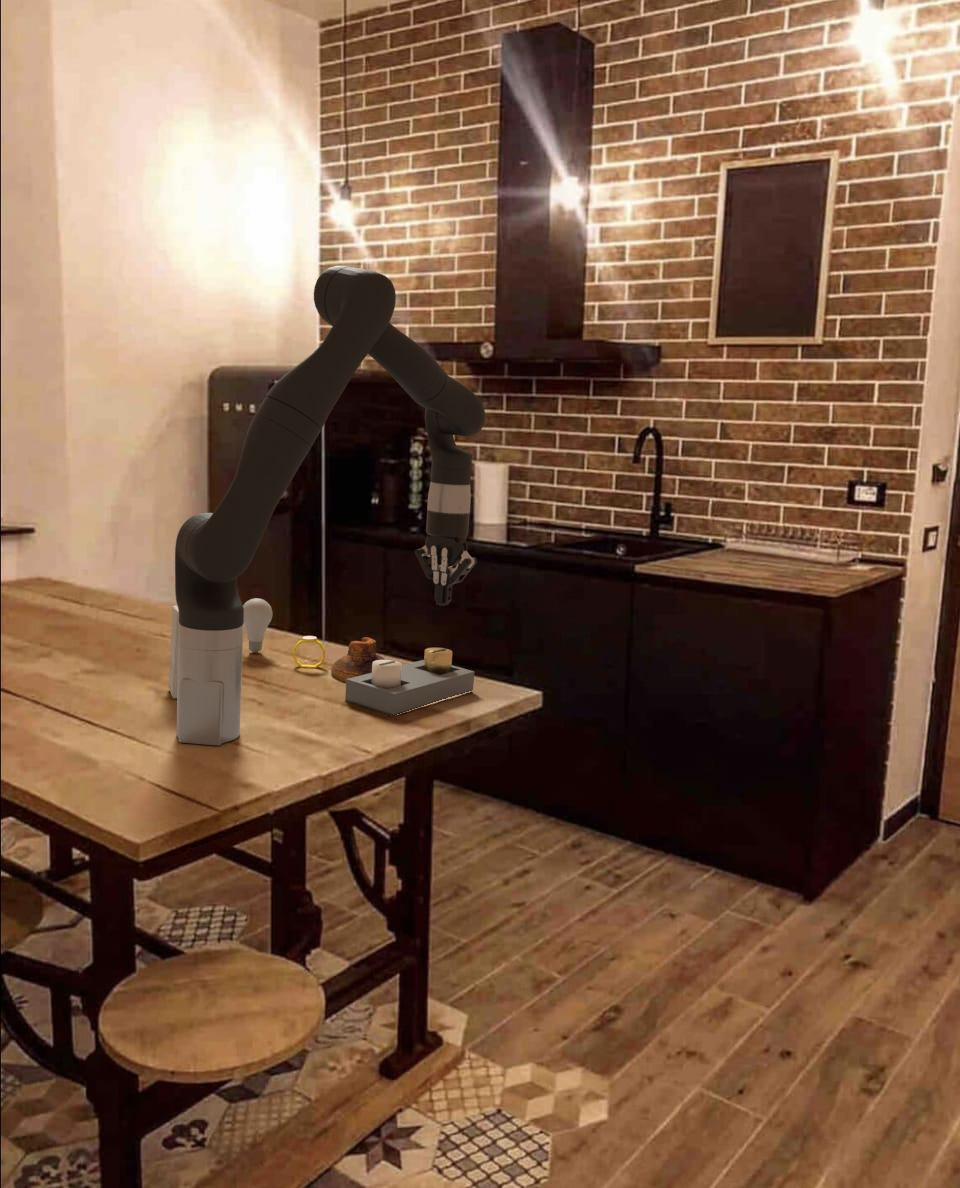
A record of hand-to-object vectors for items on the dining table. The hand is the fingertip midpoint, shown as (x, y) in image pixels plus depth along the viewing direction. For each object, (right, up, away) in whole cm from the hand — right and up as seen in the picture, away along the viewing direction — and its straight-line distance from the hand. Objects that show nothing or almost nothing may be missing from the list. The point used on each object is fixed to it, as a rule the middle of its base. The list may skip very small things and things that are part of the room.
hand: (442, 604), depth 181 cm
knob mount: (-5, -16, -2) cm, 17 cm away
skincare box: (-42, -15, -10) cm, 45 cm away
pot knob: (-9, -14, -9) cm, 19 cm away
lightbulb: (-38, -10, +19) cm, 43 cm away
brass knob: (-1, -12, +2) cm, 13 cm away
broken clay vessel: (-15, -14, +9) cm, 23 cm away
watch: (-26, -12, +12) cm, 31 cm away
